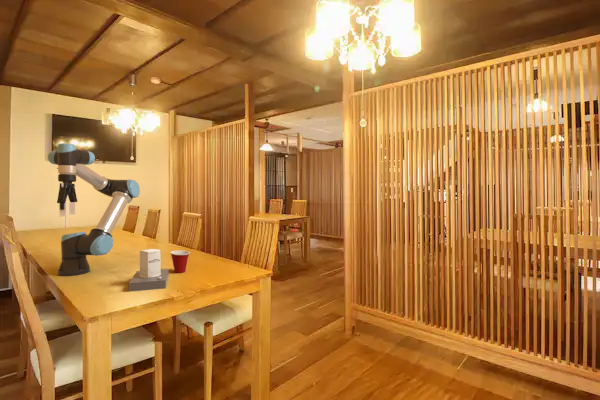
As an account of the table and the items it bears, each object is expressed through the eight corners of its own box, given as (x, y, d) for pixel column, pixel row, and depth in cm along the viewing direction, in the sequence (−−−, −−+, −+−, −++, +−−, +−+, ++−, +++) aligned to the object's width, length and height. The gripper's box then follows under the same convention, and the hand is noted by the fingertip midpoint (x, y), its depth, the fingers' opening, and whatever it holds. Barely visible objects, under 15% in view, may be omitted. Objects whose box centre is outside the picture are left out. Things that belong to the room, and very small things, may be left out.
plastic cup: (183, 275, 182) (183, 253, 182) (166, 273, 184) (166, 253, 184) (193, 270, 192) (193, 250, 192) (177, 269, 195) (177, 249, 194)
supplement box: (147, 277, 160) (147, 251, 160) (139, 275, 164) (139, 250, 164) (161, 274, 166) (161, 249, 166) (152, 272, 171) (152, 248, 170)
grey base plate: (136, 278, 175) (136, 269, 174) (168, 275, 180) (168, 267, 180) (128, 291, 152) (128, 280, 152) (165, 288, 157) (165, 278, 157)
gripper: (67, 175, 176) (68, 213, 177) (48, 172, 152) (49, 217, 153) (83, 175, 178) (83, 213, 179) (67, 172, 155) (67, 217, 155)
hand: (68, 215), depth 166 cm, fingers open, 13 cm apart
